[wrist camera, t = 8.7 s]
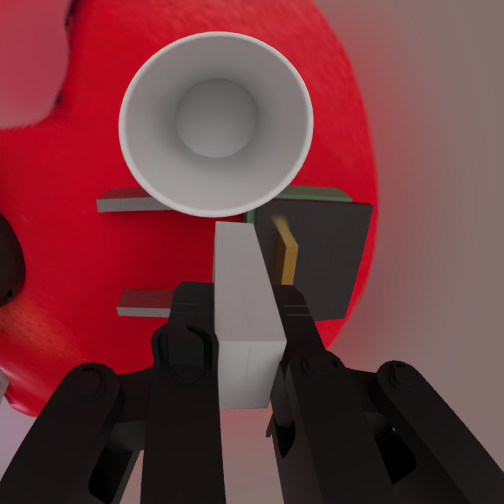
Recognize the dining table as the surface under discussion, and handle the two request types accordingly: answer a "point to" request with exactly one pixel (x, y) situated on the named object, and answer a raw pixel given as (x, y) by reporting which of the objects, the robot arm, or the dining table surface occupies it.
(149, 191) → the cup
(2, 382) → the ink box
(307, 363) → the robot arm
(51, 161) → the dining table surface
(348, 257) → the cover
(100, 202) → the bracket
